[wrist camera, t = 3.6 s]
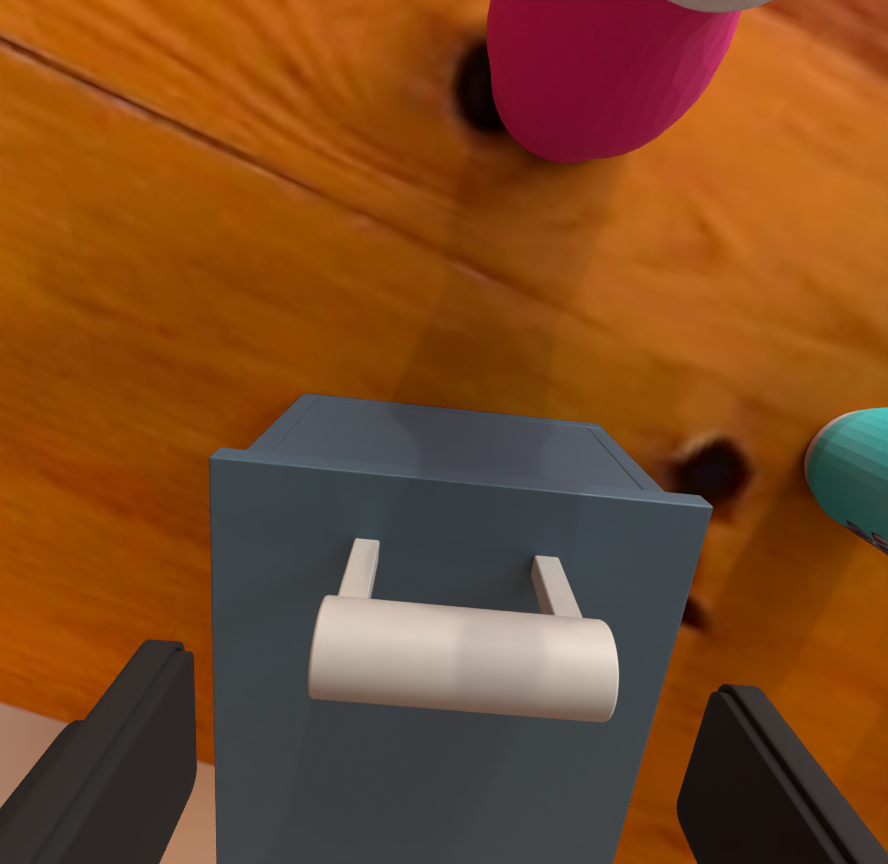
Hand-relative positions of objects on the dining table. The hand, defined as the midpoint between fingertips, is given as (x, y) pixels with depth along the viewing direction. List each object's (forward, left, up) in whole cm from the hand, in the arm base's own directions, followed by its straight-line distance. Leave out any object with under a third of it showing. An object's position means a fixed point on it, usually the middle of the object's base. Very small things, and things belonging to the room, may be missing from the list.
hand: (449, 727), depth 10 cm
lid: (+5, 0, -7) cm, 8 cm away
